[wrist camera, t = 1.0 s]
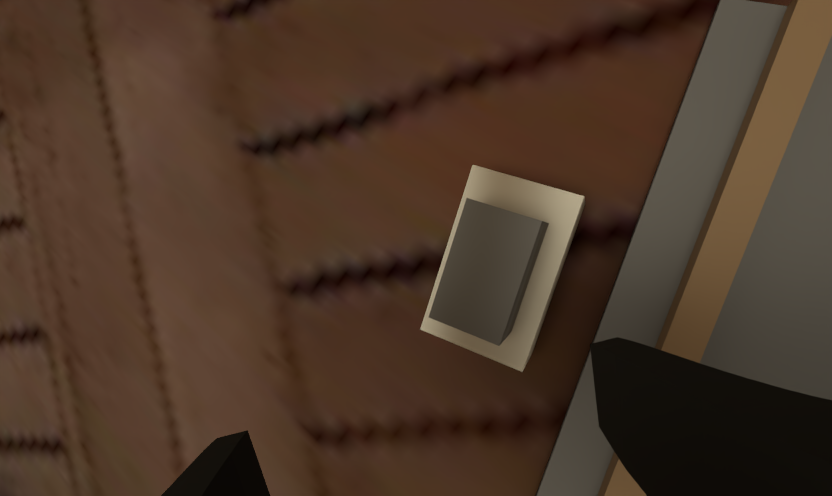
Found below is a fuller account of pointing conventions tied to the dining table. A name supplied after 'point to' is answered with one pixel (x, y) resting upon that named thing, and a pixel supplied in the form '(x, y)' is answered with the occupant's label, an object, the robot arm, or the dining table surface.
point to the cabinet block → (502, 265)
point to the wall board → (728, 229)
